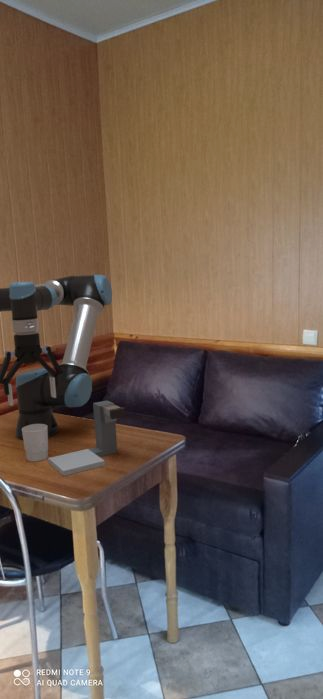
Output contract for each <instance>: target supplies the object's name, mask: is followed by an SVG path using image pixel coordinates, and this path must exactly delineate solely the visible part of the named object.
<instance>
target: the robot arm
mask: <svg viewBox="0 0 323 699" xmlns="http://www.w3.org/2000/svg"><path fill="white" fill-rule="evenodd" d="M112 301H113V290H112V286H111V282H110V279H109V278H108V277H107V276H106V275H104V274H94V275H93V274H91V275H69V276H63V277H59V278H55V279H50V280H46V281H45V282H44V283H39V284H35V283H34V281H17V282H11V283H10V284H9V287H1V288H0V313H1V312H11V317H12V318H11V319H12V321H11V322H12V330H13V331H12V332H13V334H14V335H13V342H14V343H13V344H14V351H9V350H5V351H4V360H3V362H2V364H1V367H0V384H2V386H3V394H4V395H6V396H7V402H8V405H9V406H10V407H12V406H14V397H13V387H12V384H11V383H10V382H11V381H12V379H13V377H14V376H15V375H16V374H17V371H18V370H19V368H21V366H22V365H23V364H24V365H27V364H28V365H29V364H35V363H36V362H37V363H38V364H40V366H41V367H42V368H35V369H31V370H28V371H24V372H21V373H18V374H17V376H16V378H15V390H16V397H17V398H16V400H17V407H18V408H17V409H18V418H17V423H16V427H15V437H16V438H17V439H20V440H23V435H22V428H23V427H25V426H28V425H32V424H45V425H47V427H48V438H50V437H52V436H55V435H56V434H58V433H59V423H58V422H57V419H56V417H55V415H54V412H53V410H52V408H53V407H60V408H62V407H65V408H77V407H78V408H80V407H83V406H84V405H86V404H87V403H88V401H89V400H90V398H91V396H92V391H93V380H92V377H91V376H90V375H89V374H90V373H89V371H88V370H87V366H88V360H89V356H90V351H91V348H92V343H93V339H94V334H95V329H96V325H97V322H98V317H99V315H100V314H102V313H104V308H105V306H109V305H110V304H111V303H112ZM54 306H70V307H71V306H73V307H74V308H75V312H74V314H73V315H74V316H73V318H72V325H71V328H70V330H69V331H70V332H69V334H68V335H69V336H68V340H67V343H66V346H65V347H66V348H65V349H64V350H65V351H64V355H63V360H62V362H61V363H58V360H56V358H55V356H54V355H53V352H52V347H51V346H49V345H45V346H44V347H41V340H40V338H41V337H40V333H39V330H40V327H39V318H38V312H39V311H47V310H50V309H51V308H53V307H54ZM42 353H43V354H45V355H46V357H47V359H48V360H49V362H50V363H51V365H52V366H53V368H54V369H53V368H52V367H51V366H50V365H49V364H48V363H47V362H45V360H44V359H43V358H42V357H41V354H42ZM14 356H15V358H16V359H15V360H14V363H13V365H12V367H11V368H10V369H9V370H8V368H9V365H10V363H11V359H13V357H14ZM7 371H8V372H7Z"/></svg>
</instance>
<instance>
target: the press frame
mask: <svg viewBox="0 0 323 699" xmlns="http://www.w3.org/2000/svg"><path fill="white" fill-rule="evenodd" d="M110 404H114V405H115V403H114V402H112V401H110V400H104V401H103V400H102V401H97V402H93V403H92V408H93V419H94V420H93V421H94V432H95V433H94V434H95V435H94V436H95V446H94V447H91V448H85V449H81V450H77V451H73V452H69V453H64V454H61V455H56V456H51V457H48V458H47V459H48V464H50V465H51V466H52V467H53V468H54V469H55V470H56V471H57V472H58V473H60V475H61V476H63V477H65V476H69V475H74V474H77V473H81V472H85V471H88V470H93V469H96V468H101V467H105V466H106V460H104V459H103V458H101V457H103V456H107V455H111V454H116V453H118V442H117V440H118V438H117V428H116V426H117V425H116V421H114V422H109V423H104V422H103V421H102V408H101V406H105V405H110Z"/></svg>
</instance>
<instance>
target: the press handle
mask: <svg viewBox="0 0 323 699" xmlns="http://www.w3.org/2000/svg"><path fill="white" fill-rule="evenodd" d="M101 408H102V421H103V422H104V423H109V422H114V421H115V422H117V421H118V419H121V418H126V416H127V414H126V407H123V406H121V407H120V406H119V405H117V404H115V403H114V404H110V405H105V406H101Z"/></svg>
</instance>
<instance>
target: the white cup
mask: <svg viewBox="0 0 323 699" xmlns="http://www.w3.org/2000/svg"><path fill="white" fill-rule="evenodd" d="M22 435H23V439H22V440H23V446H24V447H23V448H24V452H25V457H26V461H28V462H42V461H44V460H47V459H48V458H49V437H48V427H47V425H45V424H32V425H28V426H25V427H23V428H22Z"/></svg>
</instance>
